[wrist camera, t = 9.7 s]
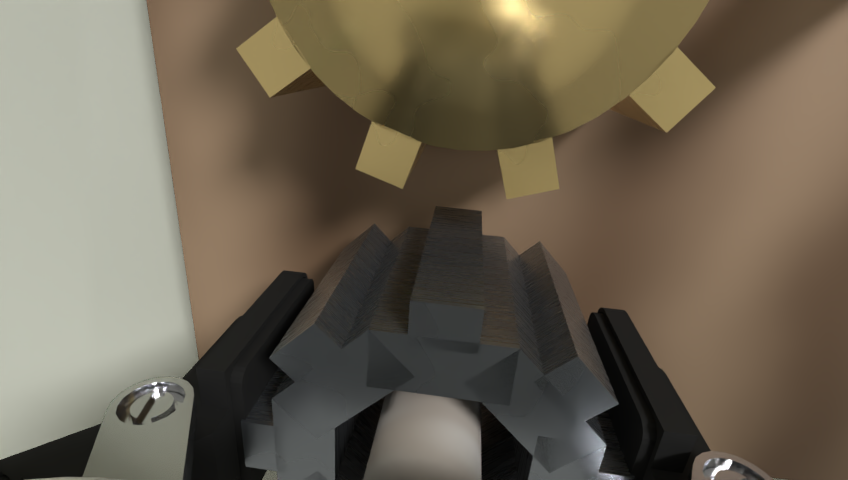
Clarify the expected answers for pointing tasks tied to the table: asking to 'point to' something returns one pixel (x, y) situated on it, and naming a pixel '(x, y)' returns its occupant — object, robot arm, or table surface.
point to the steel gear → (439, 358)
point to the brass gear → (483, 73)
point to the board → (562, 222)
